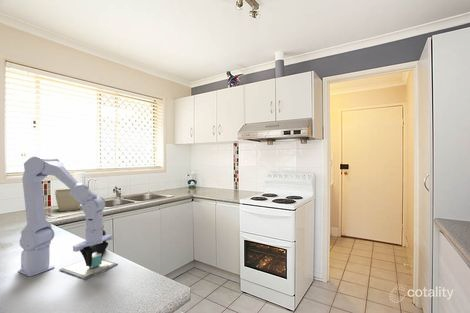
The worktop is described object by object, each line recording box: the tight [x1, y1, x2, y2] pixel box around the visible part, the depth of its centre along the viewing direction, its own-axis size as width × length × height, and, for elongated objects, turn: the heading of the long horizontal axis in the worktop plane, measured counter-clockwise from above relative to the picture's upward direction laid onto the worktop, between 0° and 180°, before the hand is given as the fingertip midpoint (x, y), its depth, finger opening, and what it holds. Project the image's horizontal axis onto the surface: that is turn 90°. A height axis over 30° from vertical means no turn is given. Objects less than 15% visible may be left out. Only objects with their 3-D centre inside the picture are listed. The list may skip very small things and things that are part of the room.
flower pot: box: [54, 188, 81, 212], centre depth 199 cm, size 19×19×17 cm
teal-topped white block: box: [88, 252, 103, 269], centre depth 90 cm, size 4×4×5 cm
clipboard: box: [59, 258, 118, 281], centre depth 91 cm, size 16×13×1 cm
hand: (94, 263), depth 90 cm, fingers closed on teal-topped white block, 4 cm apart
